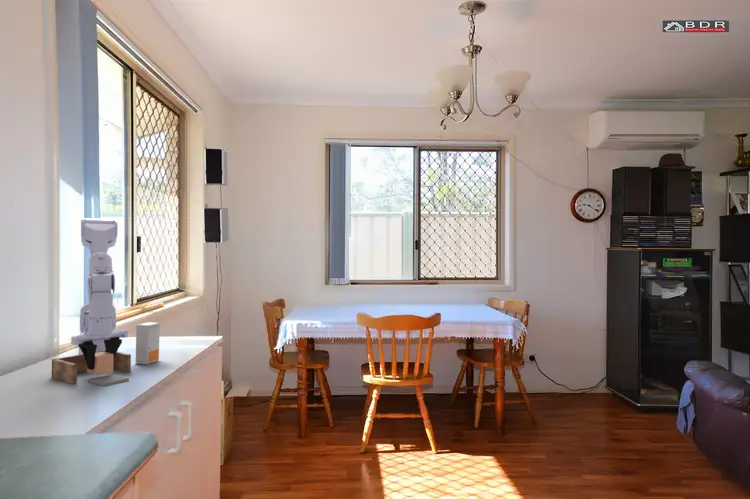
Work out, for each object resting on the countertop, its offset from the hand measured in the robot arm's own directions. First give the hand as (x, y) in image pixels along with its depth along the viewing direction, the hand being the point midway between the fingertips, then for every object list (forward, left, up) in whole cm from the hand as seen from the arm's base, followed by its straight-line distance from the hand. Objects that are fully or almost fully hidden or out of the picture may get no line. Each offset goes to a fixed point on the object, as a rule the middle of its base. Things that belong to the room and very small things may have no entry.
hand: (100, 367), depth 141 cm
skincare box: (-7, +19, -3) cm, 20 cm away
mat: (+5, 0, -3) cm, 6 cm away
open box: (-5, +1, -3) cm, 6 cm away
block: (0, 0, -1) cm, 1 cm away
